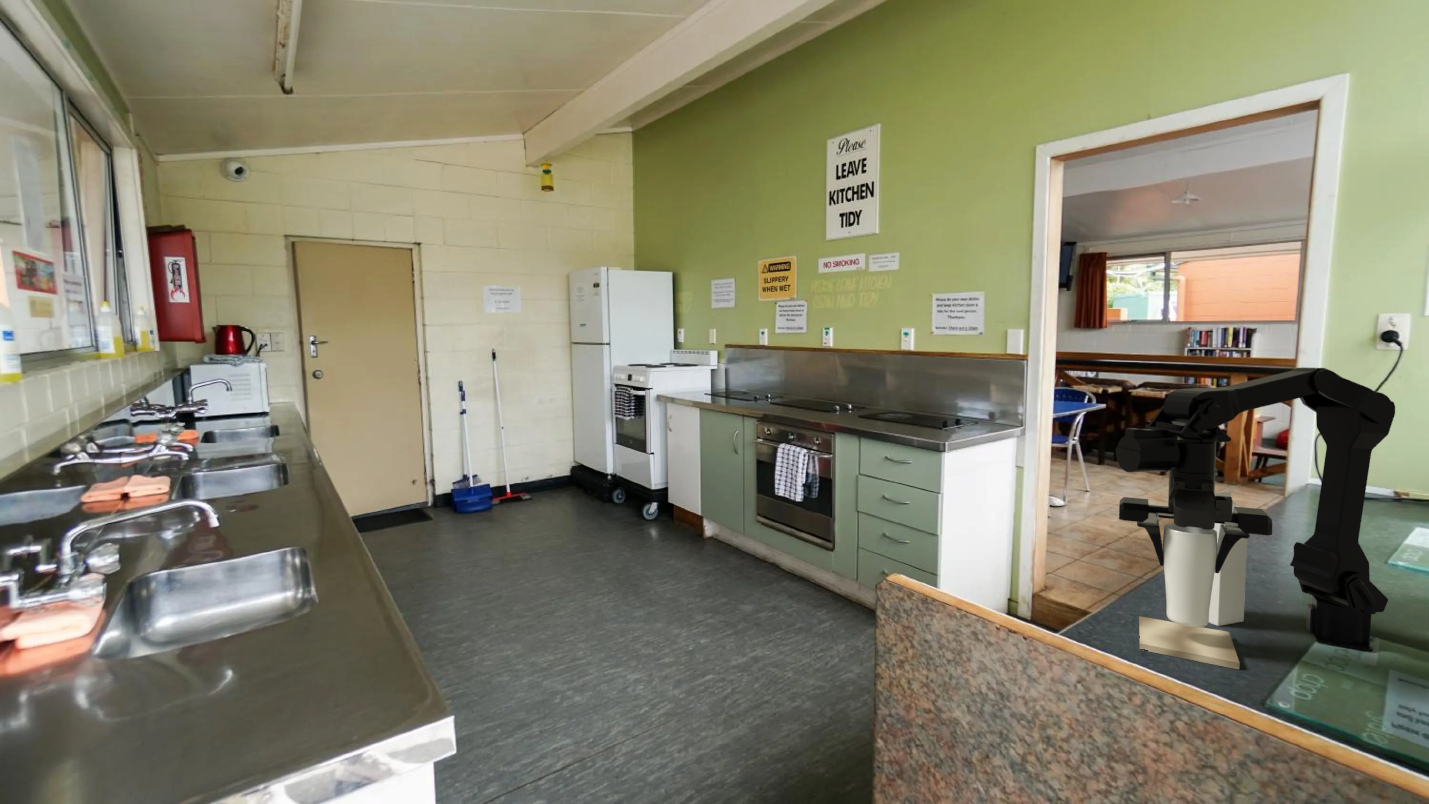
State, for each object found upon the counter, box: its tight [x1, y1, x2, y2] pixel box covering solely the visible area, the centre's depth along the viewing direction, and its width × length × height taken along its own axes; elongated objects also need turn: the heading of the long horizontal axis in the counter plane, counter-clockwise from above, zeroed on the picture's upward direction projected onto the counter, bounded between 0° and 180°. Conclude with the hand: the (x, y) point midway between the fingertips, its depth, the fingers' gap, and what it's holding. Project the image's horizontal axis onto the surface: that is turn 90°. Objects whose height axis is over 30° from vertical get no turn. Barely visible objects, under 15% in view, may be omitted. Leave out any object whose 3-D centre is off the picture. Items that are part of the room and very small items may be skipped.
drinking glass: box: [1162, 522, 1217, 628], centre depth 99 cm, size 7×7×15 cm
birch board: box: [1138, 616, 1241, 670], centre depth 100 cm, size 12×12×1 cm
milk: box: [1208, 490, 1248, 627], centre depth 109 cm, size 6×6×22 cm
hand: (1188, 568), depth 99 cm, fingers closed on drinking glass, 6 cm apart
